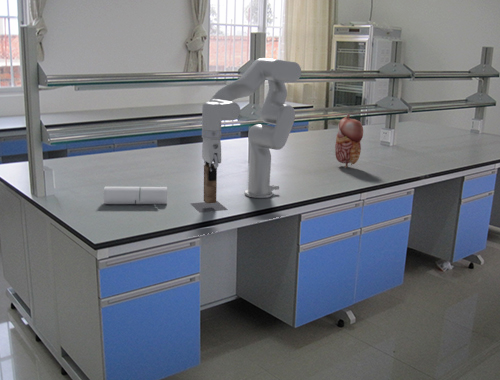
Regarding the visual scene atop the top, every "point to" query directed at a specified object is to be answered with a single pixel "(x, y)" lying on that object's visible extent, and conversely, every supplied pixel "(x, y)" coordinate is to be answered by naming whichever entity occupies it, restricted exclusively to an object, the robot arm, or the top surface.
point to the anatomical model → (348, 140)
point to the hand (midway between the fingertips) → (210, 178)
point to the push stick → (209, 187)
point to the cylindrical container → (135, 195)
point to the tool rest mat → (208, 206)
